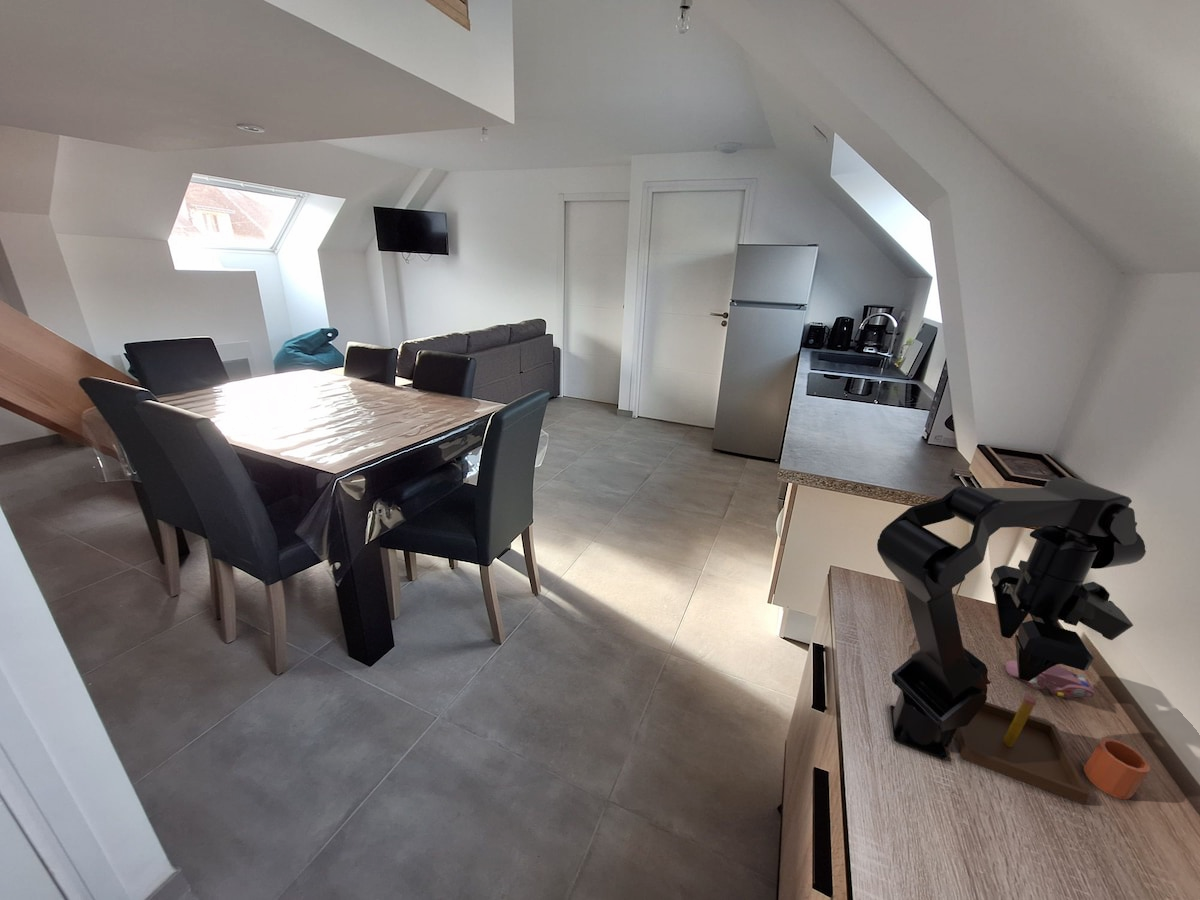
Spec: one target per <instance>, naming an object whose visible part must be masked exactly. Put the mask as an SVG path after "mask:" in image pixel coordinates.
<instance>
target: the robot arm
mask: <svg viewBox="0 0 1200 900" xmlns="http://www.w3.org/2000/svg"><path fill="white" fill-rule="evenodd" d="M1131 503H1133V500H1132V498H1131V497H1129V496H1126V495H1124V494H1121V493H1118V492H1115V491H1113V490H1109V489H1107V488H1104V487H1101V486H1098V485H1095V484H1092V483H1091V482H1090V483H1089V482H1087V481H1084V480H1081V479H1078V478H1075V477H1073V476H1064V477H1060V478H1055V479H1050V480H1047V481H1046V483H1045V484H1044V486H1043V487H974V486H971V485H967V486H966V485H959V486H956V487H955V488H953V489H951V490H950V491H949V492H948V493H946V494H945V495H944V496H942V497H941V498H938V499H934V500H931V501H927V502H924V503H920V504H917V505H913V506H911V507H909V508H907V509H906V510H905V511H904V512H903V513H901V514H899V516H897V517H896V518H895V519H894V520H892V521H891V522H890V523H888V524H887V525H886V526H885V527H884V528H883V529H882V530H881V532H880V534H879V536H878V537H879V538H878V539H877V543H876V546H877V547H876V549H877V552H878V554H879V556H880V558H881V559H882V561H883V563H884V564H885V566H886V567H887V569H888V570H889V571H890V572H891V573H892V574H893V575H894V577H895V578H896V580H898V581H899V582H900V584H901V585H902V587H903V589H904V592H905V593H904V594H905V596H906V600H907V604H908V609H909V611H910V616H911V619H912V623H913V628H914V630H915V634H916V638H917V643H918V646H919V649H918V650H915V651H914V652H913V653H911V654H910V657H909V658H908V659H907V660H906V661H905V662H904V663H902V664H901V665H900V666H899V667H898V668H896V669H895V670H894V671H893V672H892V673H891V682H892V684H893V685H895V686H896V687H898V689H899V690H900V691H899V694H898V697H897V699H896V701H895V704H894V705H893V704H892V705H890V706H889V716H890V724H891V730H892V738H893V740H894V742H896V743H898V744H902V745H904V746H907V747H909V748H912V749H915V750H917V751H919V752H922V753H923V754H924V753H925V754H926V755H927V754H928V755H930V756H932V757H935V758H937V759H940V760H944V761H945V760H946V759H947V752H946V748H949V747H950V746H951V743H952V741H953V738H954V737H955V732H956V730H957V728H959V727H963V726H967V725H968V724H969V723H970V721H971V720H972V719H973V718H974V716H975V715H976V714H977V713H978V711H979V710H980V709H981V707H982V706H983V705H984V704H985V702H987V700H988V695H987V694H988V685H990V684H991V683H992V682H991V681H990V680H989V678H988V673H989V670H988V667H987V665H986V663H984V662H983V661H982V660H980V659H979V658H978V657H977V656H975V654H973V653H972V652H970V651H969V650H968V649H966V648H965V647H964V645H963V639H962V635H961V629H960V625H959V619H958V614H957V613H958V612H957V609H956V608H957V607H956V605H955V598H954V593H953V588H955V587H957V586H958V585H959V584H961V583H963V582H964V581H965V580H966V575H968V574H969V573H970V572H971V571H973V570H974V569H975V568H977V567H978V566H979V565H980V564H982V563H983V561H984V560H985V555H986V552H987V547H988V543H989V540H990V536H992V535H993V534H995V533H996V532H997V531H999V530H1000V529H1003V528H1034V529H1033V530H1032V531H1031V532H1030V533H1029V537H1030V538H1032V539H1034V540H1035V542H1034V545H1033V547H1032V549H1031V551H1030V554H1029V556H1028V558H1027V560H1022V559H1020V560H1019V562H1018V565H1017V566H1018V568H1016V567H1012V566H1009V565H1004V564H1003V565H1000V566H997V567H994V568H993V570H992V573H991V574H990V575H991V576H990V580H991V582H992V584H991V588H992V591H993V598H994V602H995V607H996V613H997V619H998V625H999V631H1000V635H1001V637H1002V638H1006V639H1012V638H1013V636H1014V640H1015V641H1014V642H1015V654H1016V661H1017V668H1018V676H1019V678H1018V679H1019V680H1022V681H1023V680H1025V681H1030V680H1032V679H1033V678H1035V677H1036V676H1038V675H1040V674H1041V673H1043V672H1044V671H1046V670H1047V669H1049V668H1051V667H1053V666H1055V665H1058V666H1059V665H1063V666H1067V667H1070V668H1073V669H1077V670H1080V671H1087V670H1089V668H1090V667H1091V664H1092V663H1093V660H1094V658H1095V657H1094V656H1093V654H1092V653H1091V651H1090V649H1089V648H1088V646H1087V645H1086V643H1085V642H1084V640H1083V638H1081V636H1080V635H1079V633H1077V632H1076V631H1073V630H1071V629H1070V630H1069V629H1067V628H1063V627H1061V626H1060V623H1059V621H1063V623H1065V624H1067V625H1071V626H1074V627H1077V626H1078V624H1079V623H1080V624H1083V625H1084V626H1086V627H1088V628H1089V629H1091V630H1092V631H1093V630H1094V631H1095V632H1097V633H1099V634H1100V635H1101V636H1102V637H1103V638H1105V639H1107V640H1108V641H1113V640H1115V639H1116V638H1118V637H1119V636H1121V635H1122V634H1123V633H1125V632H1126V631H1128V630H1129V629H1131V628H1132V627H1133V626H1134V623H1132V621H1131V620H1130V618H1129V617H1128V616H1127V615H1126V614H1125V613H1124V612H1123V610H1122V609H1121V608H1120V607H1118V606H1117V605H1116V604H1115V603H1114V602H1113V600H1109V599H1110V595H1111V594H1110V592H1109V591H1108V590H1107V589H1106V588H1105V586H1103V585H1101V584H1099V583H1098V582H1096V581H1090V582H1087V583H1084V582H1085V579H1086V578H1087V575H1088V573H1089V572H1090V570H1091V569H1092V570H1093V569H1094V570H1099V569H1107V568H1112V567H1119V566H1120V567H1121V566H1126V565H1132V564H1135V563H1138V562H1139V561H1141V560H1142V559H1143V558H1144V557H1145V555H1146V553H1147V550H1146V544H1145V541H1144V539H1143V537H1142V536H1141V535H1140V534H1139V533H1138V532H1137V526H1138V522H1137V521H1136V515H1135V513H1136V512H1135V510H1134V508H1132V507H1130V505H1131ZM955 517H956V518H958V519H960V520H962V521H963V522H966V523H967V524H969V525H972V526H973V527H972V531H971V535H970V539H969V541H968V542H967V543H965V544H964V545H963V546H961V547H958V546H957V545H955V544H953V543H951V542H949V540H946V539H945V538H943V537H941V536H940V535H938V534H936V533H934V532H932V531H931V530H929V529H927V528H925V527H926V526H930V525H934V524H938V523H942V522H945V521H950V520H952V519H954V518H955ZM1036 527H1037V528H1036ZM1028 615H1029V616H1030V617H1031V620H1027V621H1025V620H1026V618H1027V616H1028ZM1016 633H1017V634H1016ZM1025 681H1024V682H1025Z"/></svg>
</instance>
